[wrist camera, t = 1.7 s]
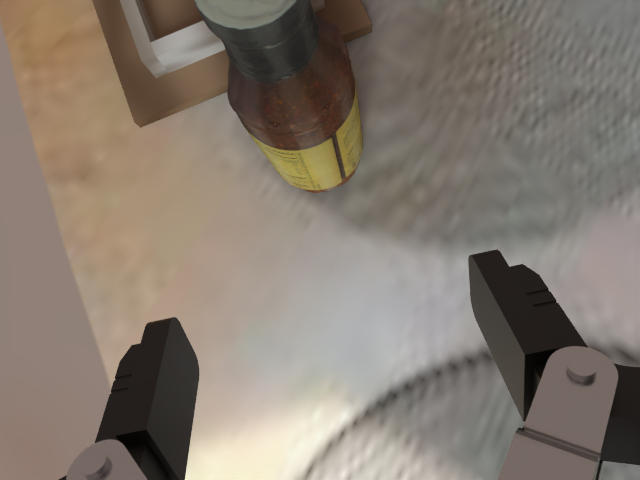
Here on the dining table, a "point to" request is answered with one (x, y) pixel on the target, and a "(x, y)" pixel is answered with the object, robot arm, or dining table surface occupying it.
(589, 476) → the robot arm
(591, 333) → the dining table surface
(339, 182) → the sauce bottle
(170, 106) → the carrier board
